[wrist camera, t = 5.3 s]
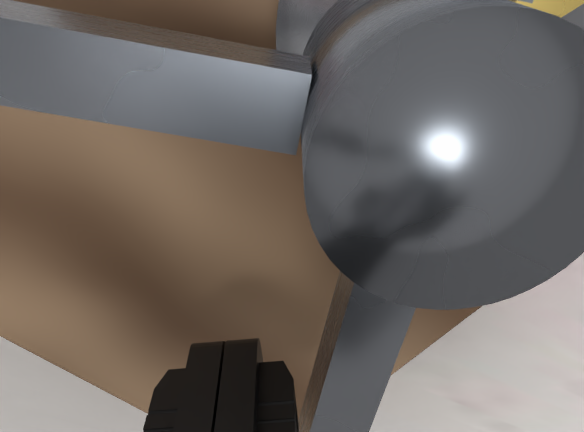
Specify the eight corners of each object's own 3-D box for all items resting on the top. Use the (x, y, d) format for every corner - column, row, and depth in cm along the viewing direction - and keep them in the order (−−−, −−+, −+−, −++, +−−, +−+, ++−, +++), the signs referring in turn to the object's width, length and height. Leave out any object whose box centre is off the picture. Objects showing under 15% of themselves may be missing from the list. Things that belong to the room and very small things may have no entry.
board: (264, 426, 20) (261, 478, 18) (-90, 226, 16) (-143, 267, 14) (766, 18, 13) (849, 34, 11) (375, -571, 8) (400, -716, 7)
